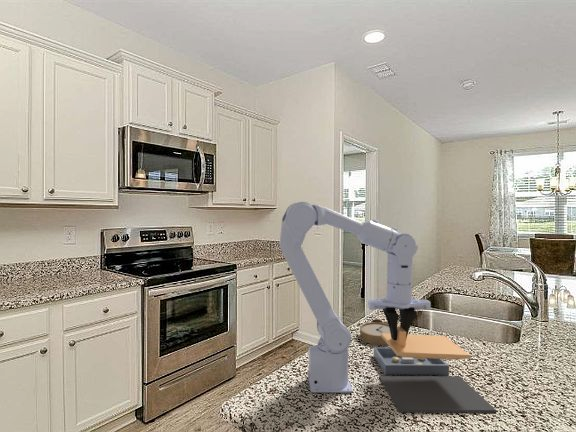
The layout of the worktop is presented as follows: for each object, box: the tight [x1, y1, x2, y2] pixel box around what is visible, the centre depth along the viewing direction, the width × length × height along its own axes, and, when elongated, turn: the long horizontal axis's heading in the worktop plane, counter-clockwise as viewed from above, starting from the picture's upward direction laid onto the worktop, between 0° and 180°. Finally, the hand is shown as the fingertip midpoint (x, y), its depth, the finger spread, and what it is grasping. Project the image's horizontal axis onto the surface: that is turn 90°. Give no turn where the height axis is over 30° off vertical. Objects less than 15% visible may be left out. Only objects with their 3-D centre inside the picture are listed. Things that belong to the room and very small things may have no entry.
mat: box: [378, 375, 497, 414], centre depth 75 cm, size 20×14×1 cm
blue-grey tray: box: [373, 346, 450, 376], centre depth 89 cm, size 16×11×2 cm
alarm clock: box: [358, 318, 391, 346], centre depth 109 cm, size 11×5×15 cm
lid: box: [381, 324, 471, 360], centre depth 80 cm, size 17×12×5 cm
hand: (398, 338), depth 80 cm, fingers closed on lid
